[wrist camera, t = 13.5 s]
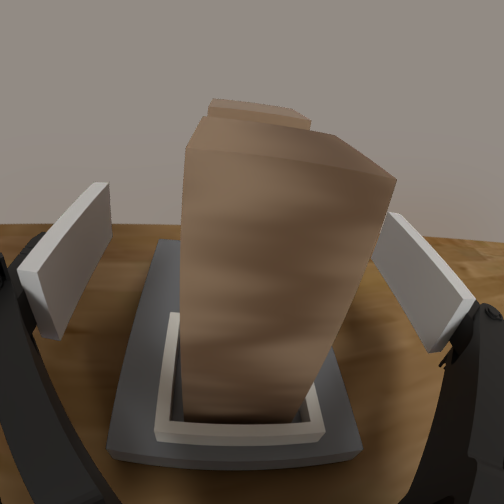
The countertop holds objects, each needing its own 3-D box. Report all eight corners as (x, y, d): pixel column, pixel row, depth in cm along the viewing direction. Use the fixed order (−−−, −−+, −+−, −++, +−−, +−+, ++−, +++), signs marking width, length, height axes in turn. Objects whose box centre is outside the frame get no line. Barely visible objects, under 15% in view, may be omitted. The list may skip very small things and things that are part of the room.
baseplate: (113, 458, 11) (-3, 174, 4) (159, 253, 26) (165, 92, 19) (351, 459, 13) (522, 234, 6) (294, 264, 28) (330, 113, 21)
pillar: (184, 423, 13) (185, 148, 6) (189, 344, 17) (202, 116, 10) (289, 424, 13) (397, 179, 7) (277, 348, 17) (334, 135, 11)
